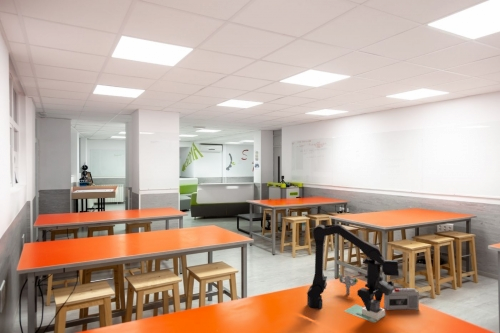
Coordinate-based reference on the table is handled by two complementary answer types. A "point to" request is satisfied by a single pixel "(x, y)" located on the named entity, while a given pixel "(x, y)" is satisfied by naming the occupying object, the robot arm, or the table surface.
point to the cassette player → (402, 299)
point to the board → (360, 313)
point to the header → (373, 313)
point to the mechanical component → (348, 282)
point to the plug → (375, 306)
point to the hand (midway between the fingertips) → (373, 308)
